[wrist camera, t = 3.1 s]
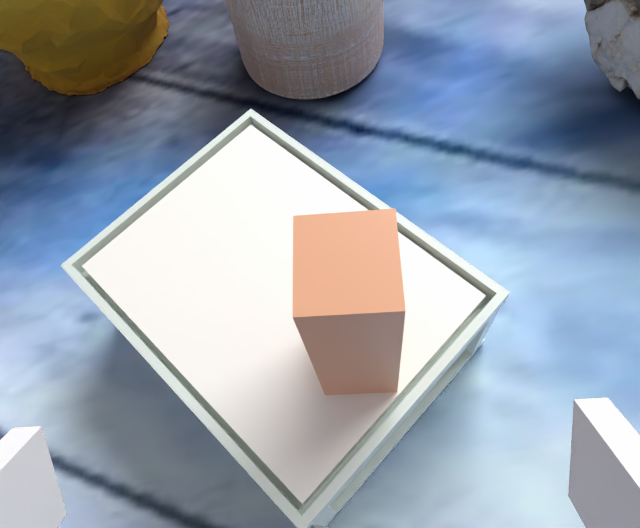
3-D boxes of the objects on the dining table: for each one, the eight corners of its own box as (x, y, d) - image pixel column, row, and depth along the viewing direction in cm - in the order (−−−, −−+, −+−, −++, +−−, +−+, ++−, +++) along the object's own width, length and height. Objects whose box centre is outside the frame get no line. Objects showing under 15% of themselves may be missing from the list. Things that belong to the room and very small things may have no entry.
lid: (482, 302, 24) (539, 172, 15) (305, 504, 21) (250, 485, 12) (254, 134, 30) (201, -28, 21) (89, 273, 27) (-50, 149, 18)
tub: (483, 343, 29) (509, 292, 23) (321, 532, 26) (301, 532, 20) (273, 181, 36) (250, 108, 30) (122, 316, 32) (60, 265, 26)
